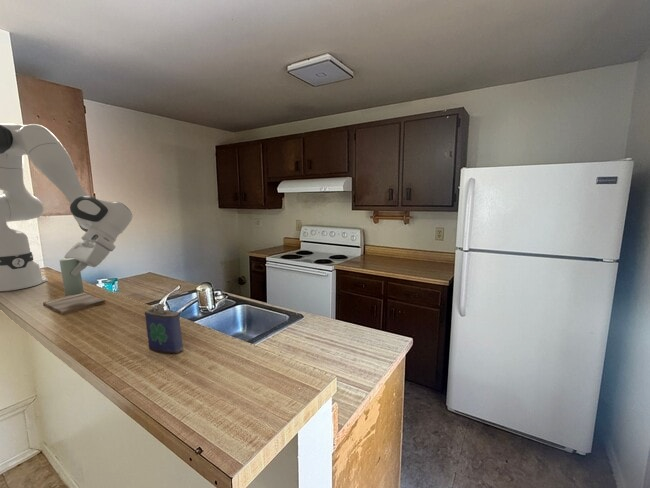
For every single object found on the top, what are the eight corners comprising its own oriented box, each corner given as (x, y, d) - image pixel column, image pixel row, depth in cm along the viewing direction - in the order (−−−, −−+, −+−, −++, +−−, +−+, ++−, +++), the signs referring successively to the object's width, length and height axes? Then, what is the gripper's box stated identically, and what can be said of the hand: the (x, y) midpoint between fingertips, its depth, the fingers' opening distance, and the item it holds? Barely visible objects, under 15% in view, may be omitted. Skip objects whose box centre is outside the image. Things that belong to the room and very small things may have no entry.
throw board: (43, 305, 109) (42, 301, 109) (83, 294, 119) (83, 292, 119) (62, 314, 99) (62, 311, 99) (104, 302, 109) (104, 299, 109)
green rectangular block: (62, 294, 106) (57, 260, 104) (80, 290, 111) (74, 257, 109) (68, 296, 104) (62, 261, 102) (86, 292, 108) (80, 258, 106)
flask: (186, 349, 74) (180, 304, 72) (175, 356, 71) (169, 309, 69) (155, 343, 78) (149, 300, 76) (144, 350, 75) (137, 304, 73)
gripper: (77, 234, 115) (48, 265, 109) (101, 237, 104) (71, 272, 98) (92, 244, 120) (66, 274, 113) (117, 248, 109) (89, 282, 102)
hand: (68, 273), depth 105 cm, fingers closed on green rectangular block, 5 cm apart
